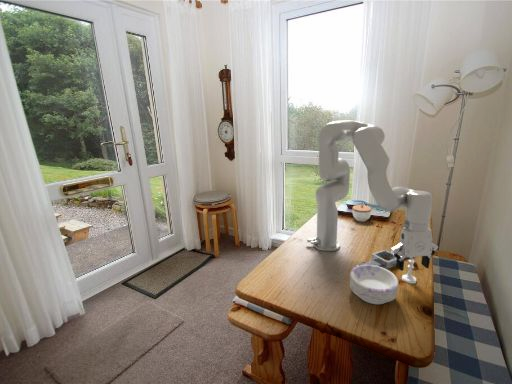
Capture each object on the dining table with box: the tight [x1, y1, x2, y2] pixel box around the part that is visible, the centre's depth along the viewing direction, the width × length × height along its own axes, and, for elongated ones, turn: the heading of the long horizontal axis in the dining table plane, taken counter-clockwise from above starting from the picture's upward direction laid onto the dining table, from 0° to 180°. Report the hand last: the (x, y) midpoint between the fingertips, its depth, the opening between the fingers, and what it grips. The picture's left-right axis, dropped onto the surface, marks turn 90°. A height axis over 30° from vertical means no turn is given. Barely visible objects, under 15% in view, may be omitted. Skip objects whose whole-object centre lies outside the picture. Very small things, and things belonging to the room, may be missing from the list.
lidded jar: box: [352, 204, 373, 223], centre depth 155 cm, size 11×11×9 cm
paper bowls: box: [349, 265, 400, 305], centre depth 89 cm, size 15×15×8 cm
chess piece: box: [401, 257, 418, 285], centre depth 97 cm, size 5×5×10 cm
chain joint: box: [354, 249, 410, 270], centre depth 110 cm, size 30×8×3 cm, turn 113°
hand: (412, 267), depth 96 cm, fingers open, 9 cm apart
